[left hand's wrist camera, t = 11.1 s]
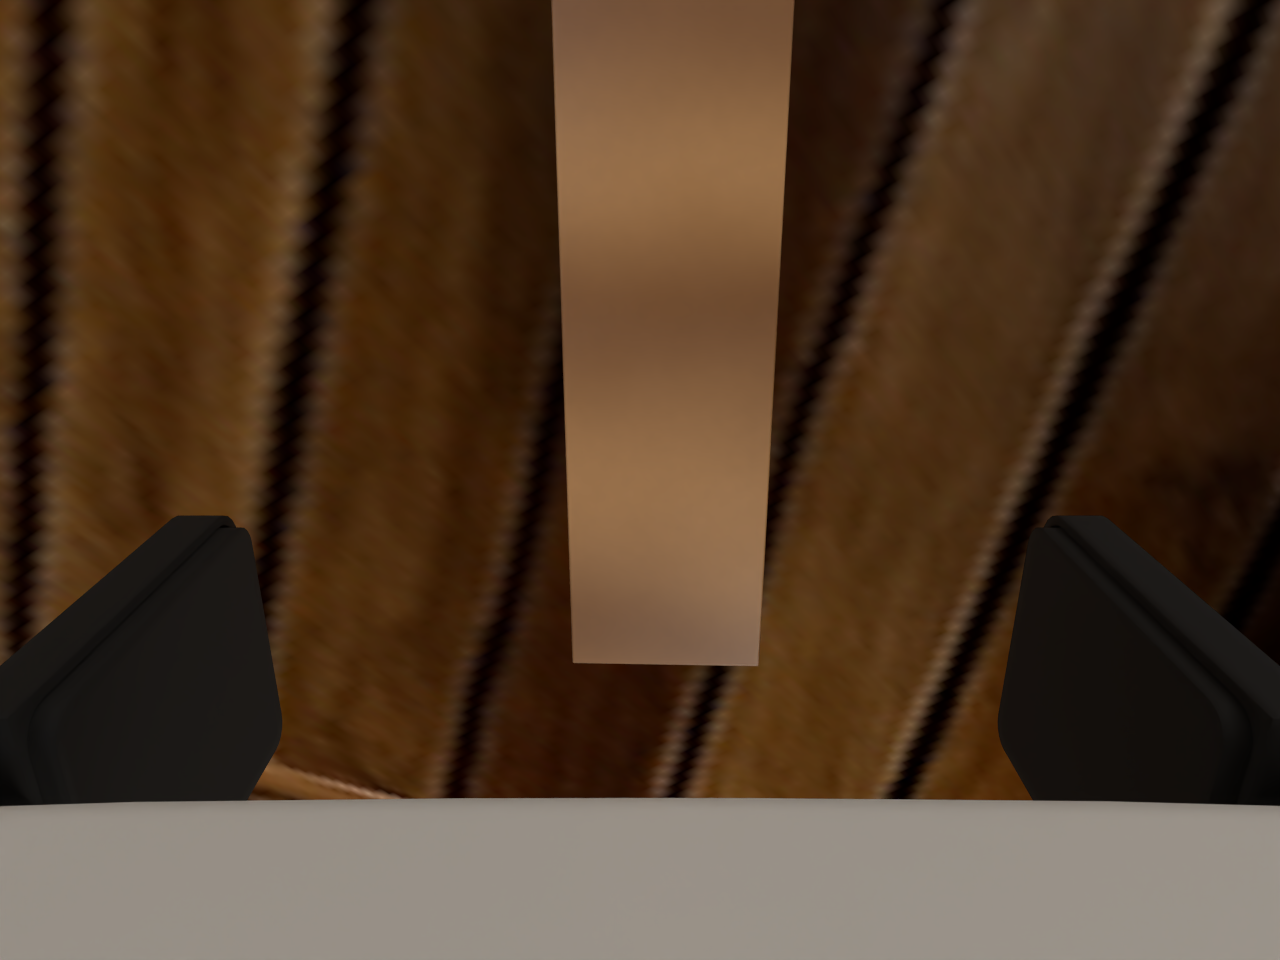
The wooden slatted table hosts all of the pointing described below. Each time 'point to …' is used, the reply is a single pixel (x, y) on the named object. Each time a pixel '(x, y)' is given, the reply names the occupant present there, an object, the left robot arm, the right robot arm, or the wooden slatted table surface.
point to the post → (669, 317)
